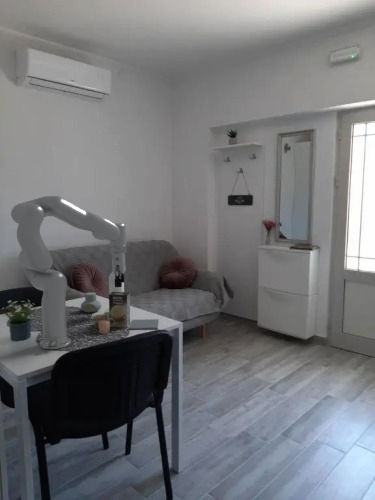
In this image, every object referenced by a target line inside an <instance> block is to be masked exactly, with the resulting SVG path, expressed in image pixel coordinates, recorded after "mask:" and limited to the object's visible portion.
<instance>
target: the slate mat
mask: <svg viewBox="0 0 375 500" xmlns="http://www.w3.org/2000/svg"><path fill="white" fill-rule="evenodd" d="M129 330H132V331H133V330H134V331H135V330H159V319H154V318H153V319H132V321H131V322H130V325H129Z"/></svg>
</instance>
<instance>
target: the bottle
mask: <svg viewBox="0 0 375 500" xmlns="http://www.w3.org/2000/svg"><path fill="white" fill-rule="evenodd" d="M111 263H112V265H113V258H112V260H111ZM112 292H125V281H124V282H123V283H122V287H115V274H114V271H113V270H112V271H111V273H110V274H109V276H108V293H109V294H110V293H112ZM109 294H108V295H109Z"/></svg>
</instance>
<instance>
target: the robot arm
mask: <svg viewBox="0 0 375 500" xmlns="http://www.w3.org/2000/svg"><path fill="white" fill-rule="evenodd" d="M10 216H11V219H12V221H14V222H15V223H16V224H17V229H16V239H17V242H18V245H19V247H20V248H21V251H20V252H19V254H18V262H19V265H20V267H21V269H22V270H23V272H24V274H25V276H26V278H27V279H28V281H29V283H30V284H31V286H32V287H34V288H35V289H37V290H39V291H42V292H43V293H42V298H41V306H40V307H41V321H42V340H41V341H40V342H39V347H40V348H41V349H43V350H58V349H59V350H60V349H63V348H66V347H68V346H70V345H71V343H72V339H71V338H70V337H68V330H67V328H68V327H67V326H68V325H67V306H66V305H67V304H66V303H67V301H66V298H67V297H66V295H67V294H66V292H67V287H68V280H67V277H66V276H65V275H64V274H63V273H62V272H60V271H59V270H56V269H51V267H52V266H53V261H54V260H53V258H52V254H51V253H50V251H49V249H48V247H47V245H46V243H45V242H44V240H43V238H42V236H41V225H42V223H43V221H44V219H45V218H46V217H54V218H56V219H58V220H60V221H62V222H64V223H66V224H68V225H69V226H71V227H73V228H76V229H78V230H83V231H88V232H90V233H91V235H92V236H93V238H95V239H96V240H100V241H109V251H110V252H109V253H111V254H112V259H113V264H112V272H113V271H114V274H115V287H122V283H123V282H124V283H125V272H126V271H127V267H126V254H125V253H127V229H126V225H125V223H123V222H122V223H121V222H120V223H119V222H117V223H115V222H114V223H113V222H112V221H110V220H108V219H106V218H104V217H102V216H99V215H97V214H95V213H92V212H89V211H88V210H85V209H83V208H82V207H80V206H78V205H76V204H74V203H72V202H71V201H70V200H67V199H65V198H64V197H61V196H59V195H46V196H42V197H41V196H40V197H38V198H34V199H31V200H28V201H24V202H21V203H17V204H15V205H14V206H13V207H12V209H11V211H10Z"/></svg>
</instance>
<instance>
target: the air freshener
mask: <svg viewBox="0 0 375 500" xmlns="http://www.w3.org/2000/svg"><path fill="white" fill-rule="evenodd" d="M101 308H102V303H101V301H99V300H97V293H96V292H93V291H92V292H85V293H84V301H83V302H82V303H81V304H80V309H81V310H82V311H83V312H85V313H87V314H90V313H91V314H92V313H96V312H98V311H99V310H100V309H101Z"/></svg>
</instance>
